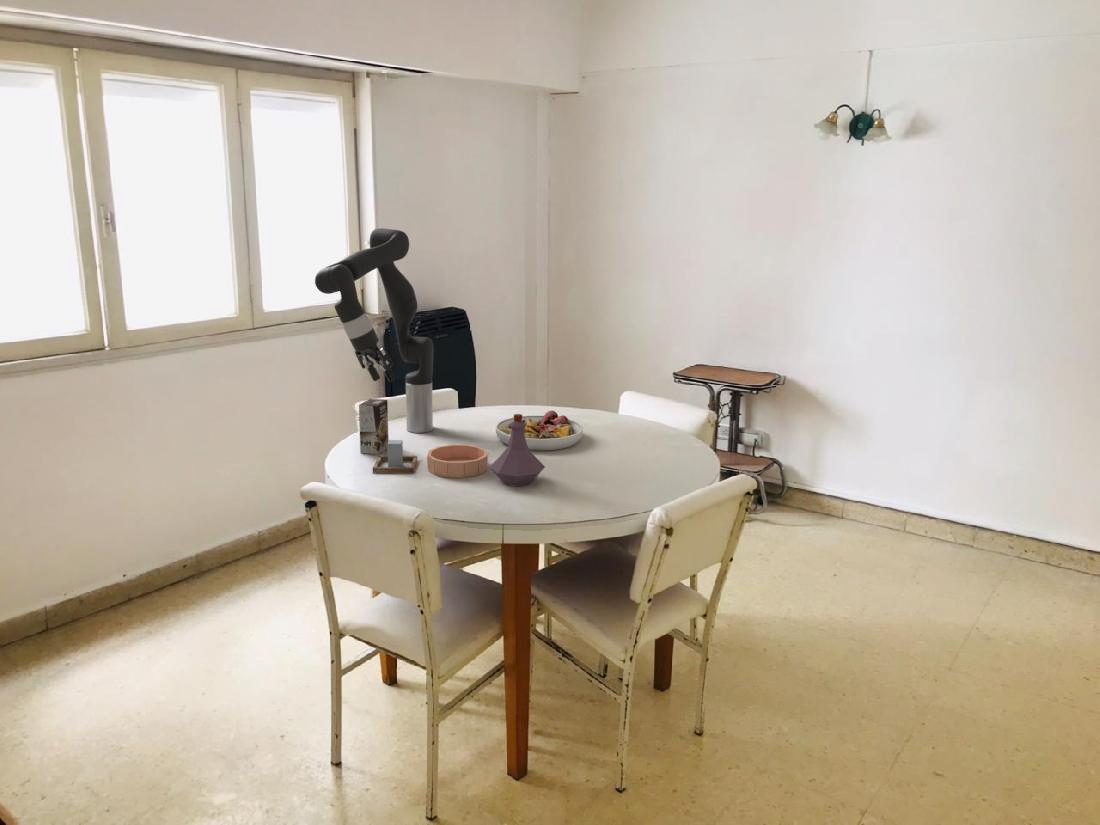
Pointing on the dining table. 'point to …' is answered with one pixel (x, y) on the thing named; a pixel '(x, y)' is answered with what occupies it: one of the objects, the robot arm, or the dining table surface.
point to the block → (395, 453)
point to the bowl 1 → (457, 461)
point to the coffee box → (373, 426)
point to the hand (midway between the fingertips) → (384, 380)
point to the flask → (517, 458)
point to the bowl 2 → (544, 431)
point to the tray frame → (395, 469)
